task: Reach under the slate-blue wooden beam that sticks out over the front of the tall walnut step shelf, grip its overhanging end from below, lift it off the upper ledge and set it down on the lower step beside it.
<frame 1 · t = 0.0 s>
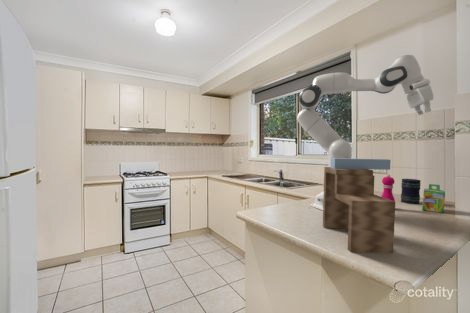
hand: (424, 113, 113), 52 cm above the counter, tool tilted 20°, fingers open, 8 cm apart
step shelf: (352, 237, 89), on the counter
beam: (359, 168, 94), point 26 cm above the counter, touching step shelf
pepper mill: (387, 208, 134), on the counter
storage jar: (409, 202, 150), on the counter
chalk box: (432, 210, 131), on the counter
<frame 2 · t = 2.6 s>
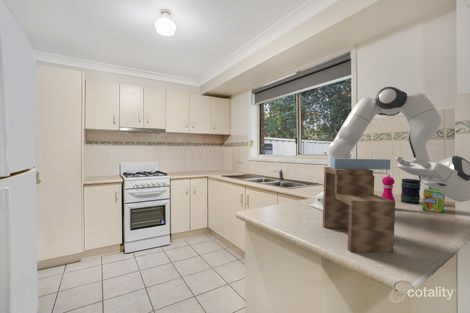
hand: (405, 158, 94), 30 cm above the counter, tool pointing upward, fingers open, 8 cm apart
nothing on the counter moved.
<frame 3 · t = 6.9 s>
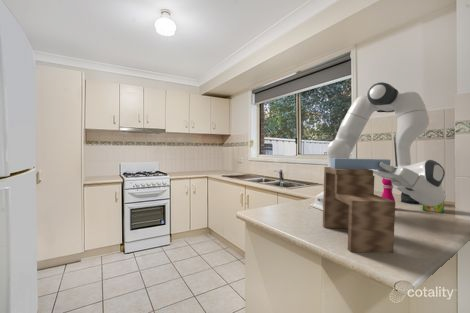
hand: (375, 163, 94), 28 cm above the counter, tool pointing upward, fingers closed on beam, 4 cm apart
beam: (359, 168, 94), point 26 cm above the counter, touching gripper, step shelf
everything else where it was.
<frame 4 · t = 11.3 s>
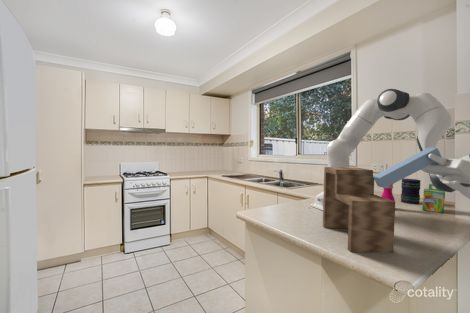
hand: (422, 154, 81), 32 cm above the counter, tool pointing upward, fingers closed on beam, 4 cm apart
beam: (409, 172, 82), point 26 cm above the counter, tilted 29°, touching gripper
everything else where it was.
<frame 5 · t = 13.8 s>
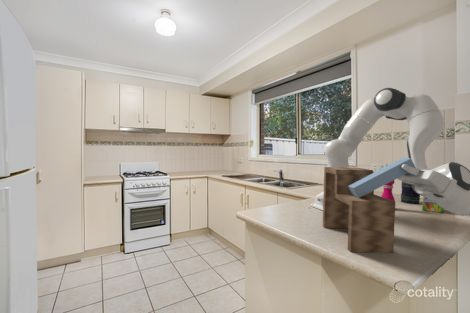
hand: (396, 165, 82), 29 cm above the counter, tool pointing upward, fingers closed on beam, 4 cm apart
beam: (383, 182, 82), point 22 cm above the counter, tilted 29°, touching gripper
everything else where it was.
when the fingers open (21 cm above the counter, at t = 15.8 s): beam stays where it is, resting on step shelf.
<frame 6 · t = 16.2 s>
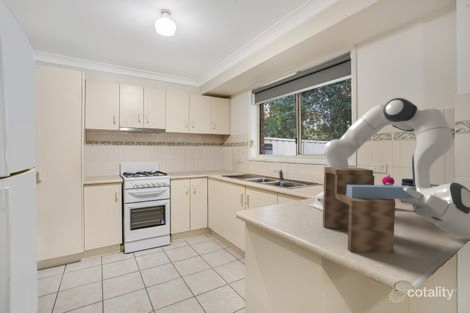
hand: (395, 186, 82), 21 cm above the counter, tool pointing upward, fingers open, 8 cm apart
beam: (380, 197, 82), point 17 cm above the counter, touching step shelf
everything else where it was.
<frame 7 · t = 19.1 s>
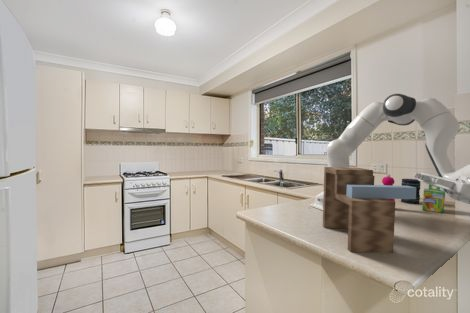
hand: (424, 177, 82), 24 cm above the counter, tool pointing upward, fingers open, 8 cm apart
nothing on the counter moved.
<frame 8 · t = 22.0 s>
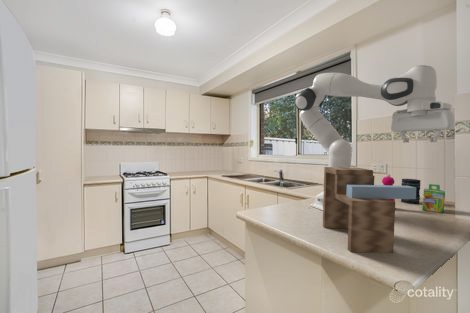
hand: (419, 142, 93), 37 cm above the counter, tool pointing down, fingers open, 8 cm apart
nothing on the counter moved.
at the end: beam inside the target area (1.0 cm from its centre), point 17.0 cm above the counter; beam tilted 0°; the gripper is holding nothing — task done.
